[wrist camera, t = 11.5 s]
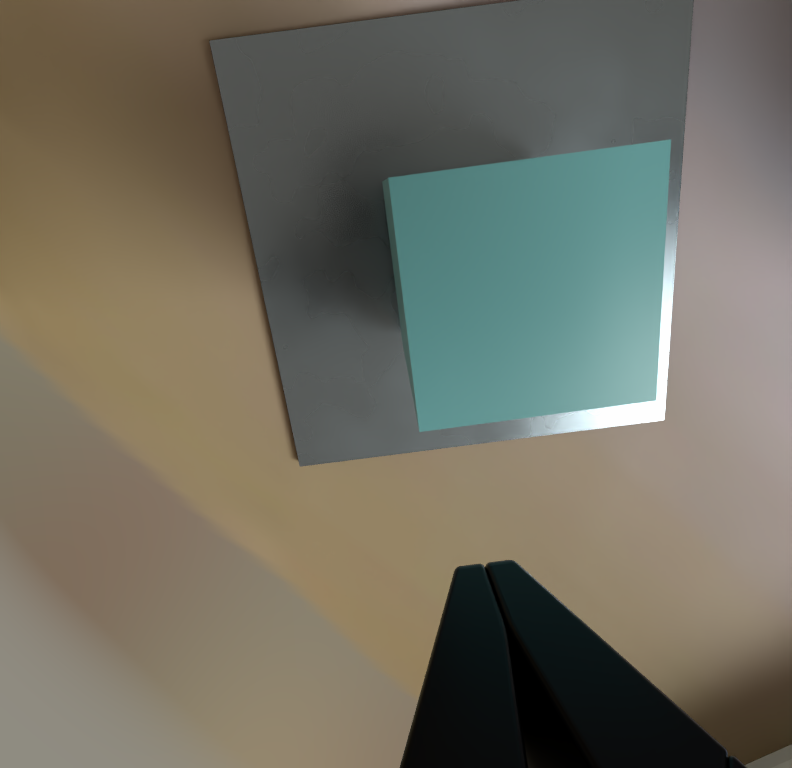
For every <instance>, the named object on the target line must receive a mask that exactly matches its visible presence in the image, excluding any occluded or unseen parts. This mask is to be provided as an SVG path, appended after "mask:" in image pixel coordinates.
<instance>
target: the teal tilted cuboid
mask: <svg viewBox="0 0 792 768" xmlns="http://www.w3.org/2000/svg"><path fill="white" fill-rule="evenodd" d="M670 150H671V139H670V140H663V141H656V142H648V143H641V144H634V145H626V146H619V147H611V148H604V149H597V150H589V151H582V152H575V153H567V154H560V155H552V156H545V157H538V158H530V159H523V160H516V161H508V162H501V163H493V164H486V165H479V166H471V167H464V168H456V169H449V170H442V171H434V172H427V173H420V174H412V175H405V176H397V177H390V178H387V179H385V180H384V181H382V185H383V193H384V201H385V209H386V216H387V224H388V232H389V240H390V248H391V256H392V264H393V272H394V280H395V287H396V295H397V303H398V311H399V319H400V327H401V335H402V343H403V349H404V354H405V359H406V365H407V370H408V375H409V380H410V386H411V391H412V396H413V401H414V406H415V412H416V417H417V422H418V427H419V432H424V431H431V430H439V429H446V428H454V427H461V426H469V425H476V424H484V423H491V422H499V421H507V420H514V419H522V418H529V417H537V416H544V415H552V414H559V413H567V412H574V411H582V410H589V409H597V408H604V407H612V406H619V405H627V404H635V403H642V402H650V401H656V397H657V379H658V362H659V344H660V326H661V309H662V291H663V274H664V256H665V238H666V221H667V203H668V186H669V168H670Z"/></svg>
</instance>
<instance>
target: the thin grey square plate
mask: <svg viewBox="0 0 792 768" xmlns="http://www.w3.org/2000/svg"><path fill="white" fill-rule="evenodd" d="M693 2H694V0H518V1H510V2H503V3H495V4H487V5H480V6H472V7H464V8H456V9H449V10H441V11H433V12H426V13H418V14H410V15H403V16H395V17H387V18H380V19H372V20H364V21H357V22H349V23H341V24H334V25H326V26H318V27H311V28H303V29H295V30H287V31H280V32H272V33H264V34H257V35H249V36H241V37H234V38H226V39H218V40H211V41H210V46H211V51H212V56H213V60H214V65H215V70H216V74H217V79H218V84H219V88H220V93H221V98H222V103H223V107H224V112H225V117H226V121H227V126H228V131H229V136H230V140H231V145H232V150H233V154H234V159H235V164H236V168H237V173H238V178H239V183H240V187H241V192H242V197H243V201H244V206H245V211H246V215H247V220H248V225H249V230H250V234H251V239H252V244H253V248H254V253H255V258H256V262H257V267H258V272H259V277H260V281H261V286H262V291H263V295H264V300H265V305H266V310H267V314H268V319H269V324H270V328H271V333H272V338H273V342H274V347H275V352H276V357H277V361H278V366H279V371H280V375H281V380H282V385H283V389H284V394H285V399H286V404H287V408H288V413H289V418H290V422H291V427H292V432H293V436H294V441H295V446H296V451H297V455H298V460H299V465H300V466H308V465H315V464H323V463H331V462H339V461H347V460H355V459H363V458H370V457H378V456H386V455H394V454H402V453H410V452H418V451H425V450H433V449H441V448H449V447H457V446H465V445H473V444H480V443H488V442H496V441H504V440H512V439H520V438H527V437H535V436H543V435H551V434H559V433H567V432H575V431H582V430H590V429H598V428H606V427H614V426H622V425H630V424H637V423H645V422H653V421H661V420H664V416H665V402H666V388H667V373H668V359H669V345H670V331H671V316H672V302H673V288H674V273H675V259H676V245H677V231H678V216H679V202H680V188H681V173H682V159H683V145H684V131H685V116H686V102H687V88H688V74H689V59H690V45H691V31H692V16H693ZM670 139H671V150H670V168H669V186H668V203H667V221H666V238H665V256H664V274H663V291H662V309H661V326H660V344H659V362H658V379H657V397H656V401H650V402H642V403H635V404H627V405H619V406H612V407H604V408H597V409H589V410H582V411H574V412H567V413H559V414H552V415H544V416H537V417H529V418H522V419H514V420H507V421H499V422H491V423H484V424H476V425H469V426H461V427H454V428H446V429H439V430H431V431H424V432H419V427H418V422H417V417H416V412H415V406H414V401H413V396H412V391H411V386H410V380H409V375H408V370H407V365H406V359H405V354H404V349H403V343H402V335H401V327H400V319H399V311H398V303H397V295H396V287H395V280H394V272H393V264H392V256H391V248H390V240H389V232H388V224H387V216H386V209H385V201H384V193H383V185H382V181H384V180H385V179H387V178H390V177H397V176H405V175H412V174H420V173H427V172H434V171H442V170H449V169H456V168H464V167H471V166H479V165H486V164H493V163H501V162H508V161H516V160H523V159H530V158H538V157H545V156H552V155H560V154H567V153H575V152H582V151H589V150H597V149H604V148H611V147H619V146H626V145H634V144H641V143H648V142H656V141H663V140H670Z"/></svg>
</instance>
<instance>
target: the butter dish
mask: <svg viewBox="0 0 792 768" xmlns="http://www.w3.org/2000/svg"><path fill="white" fill-rule="evenodd" d="M745 766H746V767H747V768H792V744H791V745H789V746H786V747H784V748H782V749H780V750H777V751H775V752H773V753H771V754H768V755H766V756H764V757H762V758H760V759H757V760H755V761H753V762H751V763H748V764H746V765H745Z"/></svg>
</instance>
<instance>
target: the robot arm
mask: <svg viewBox="0 0 792 768" xmlns="http://www.w3.org/2000/svg"><path fill="white" fill-rule="evenodd" d="M400 768H747V767H746V766H745V765H744V764H743V763H742V762H740V761H739V760H738V759H737V758H736V757H735V756H729V757H728V753H727V750H726V749H725V748H724V747H723V746H722V745H721V744H720V743H719V742H718V741H716V740H715V739H714V738H713V737H712V736H711V735H710V734H709V733H708V732H706V731H705V730H704V729H703V728H702V727H701V726H700V725H699V724H697V723H696V722H695V721H694V720H693V719H692V718H691V717H690V716H688V715H687V714H686V713H685V712H684V711H683V710H682V709H681V708H679V707H678V706H677V705H676V704H675V703H674V702H673V701H672V700H670V699H669V698H668V697H667V696H666V695H665V694H664V693H663V692H661V691H660V690H659V689H658V688H657V687H656V686H655V685H654V684H652V683H651V682H650V681H649V680H648V679H647V678H646V677H645V676H643V675H642V674H641V673H640V672H639V671H638V670H637V669H636V668H634V667H633V666H632V665H631V664H630V663H629V662H628V661H627V660H625V659H624V658H623V657H622V656H621V655H620V654H619V653H618V652H616V651H615V650H614V649H613V648H612V647H611V646H610V645H609V644H607V643H606V642H605V641H604V640H603V639H602V638H601V637H600V636H598V635H597V634H596V633H595V632H594V631H593V630H592V629H591V628H589V627H588V626H587V625H586V624H585V623H584V622H583V621H582V620H581V619H579V618H578V617H577V616H576V615H575V614H574V613H573V612H572V611H570V610H569V609H568V608H567V607H566V606H565V605H564V604H563V603H561V602H560V601H559V600H558V599H557V598H556V597H555V596H554V595H552V594H551V593H550V592H549V591H548V590H547V589H546V588H545V587H543V586H542V585H541V584H540V583H539V582H538V581H537V580H536V579H534V578H533V577H532V576H531V575H530V574H529V573H528V572H527V571H525V570H524V569H523V568H522V567H521V566H520V565H519V564H518V563H516V562H515V561H513V560H505V561H497V562H490V563H488V564H486V566H485V567H484V566H483V565H482V564H474V565H466V566H459V567H457V568H456V569H455V571H454V574H453V578H452V582H451V585H450V589H449V592H448V596H447V600H446V603H445V607H444V610H443V614H442V618H441V621H440V625H439V628H438V632H437V635H436V639H435V643H434V646H433V650H432V653H431V657H430V661H429V664H428V668H427V671H426V675H425V679H424V682H423V686H422V689H421V693H420V697H419V700H418V704H417V707H416V711H415V715H414V719H413V722H412V725H411V729H410V733H409V736H408V740H407V744H406V747H405V751H404V754H403V758H402V761H401V765H400Z"/></svg>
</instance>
